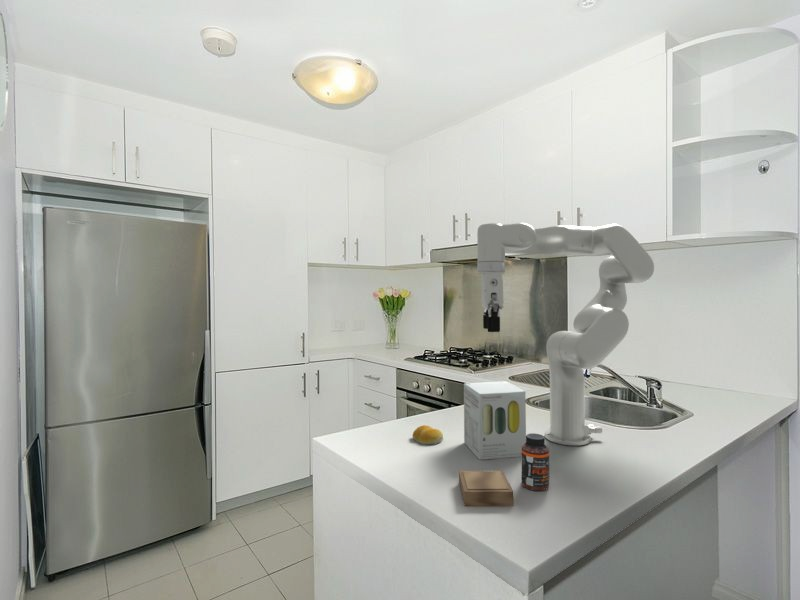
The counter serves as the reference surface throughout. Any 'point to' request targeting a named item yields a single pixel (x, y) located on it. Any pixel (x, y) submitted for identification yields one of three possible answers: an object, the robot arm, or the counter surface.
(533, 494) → the counter surface
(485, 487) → the walnut base
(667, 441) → the counter surface
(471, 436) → the supplement box
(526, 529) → the counter surface
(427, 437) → the bread roll
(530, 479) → the supplement bottle
